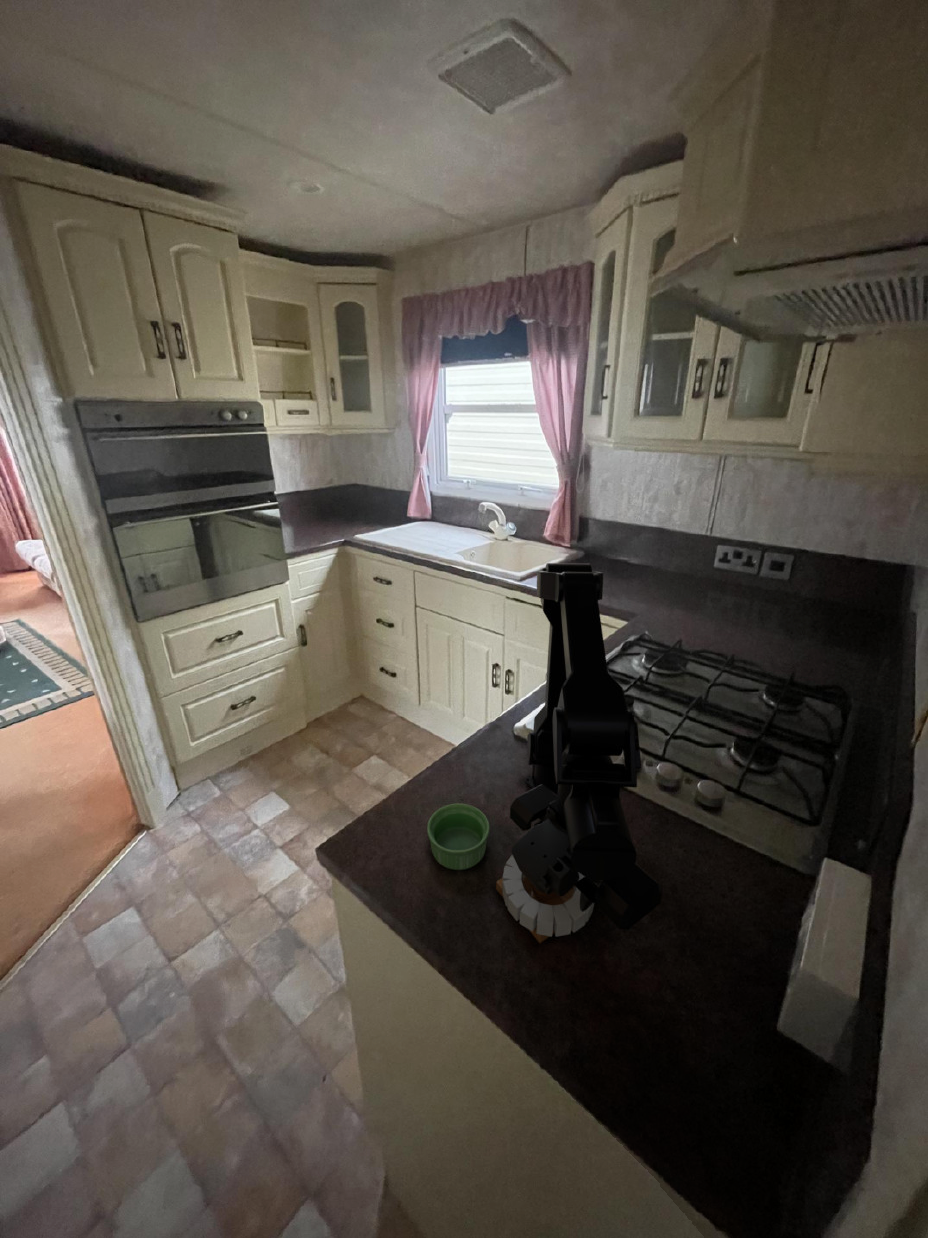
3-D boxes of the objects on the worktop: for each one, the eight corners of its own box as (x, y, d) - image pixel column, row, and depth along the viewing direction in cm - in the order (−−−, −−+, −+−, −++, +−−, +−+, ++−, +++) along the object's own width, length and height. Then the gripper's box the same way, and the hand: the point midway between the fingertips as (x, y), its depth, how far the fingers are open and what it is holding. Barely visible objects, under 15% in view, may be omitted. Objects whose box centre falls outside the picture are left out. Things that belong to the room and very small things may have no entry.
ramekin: (422, 831, 79) (421, 810, 77) (478, 819, 81) (478, 797, 79) (435, 881, 71) (434, 858, 69) (497, 865, 73) (498, 843, 71)
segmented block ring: (485, 880, 69) (485, 868, 68) (551, 842, 75) (552, 830, 74) (542, 955, 60) (543, 942, 59) (613, 905, 66) (615, 892, 65)
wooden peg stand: (495, 889, 70) (497, 843, 66) (545, 858, 74) (549, 814, 71) (539, 943, 63) (543, 896, 59) (591, 905, 67) (598, 859, 64)
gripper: (474, 779, 59) (475, 875, 65) (596, 901, 45) (581, 1009, 51) (547, 744, 65) (541, 836, 71) (675, 843, 50) (653, 946, 57)
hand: (573, 897), depth 62 cm, fingers open, 3 cm apart
